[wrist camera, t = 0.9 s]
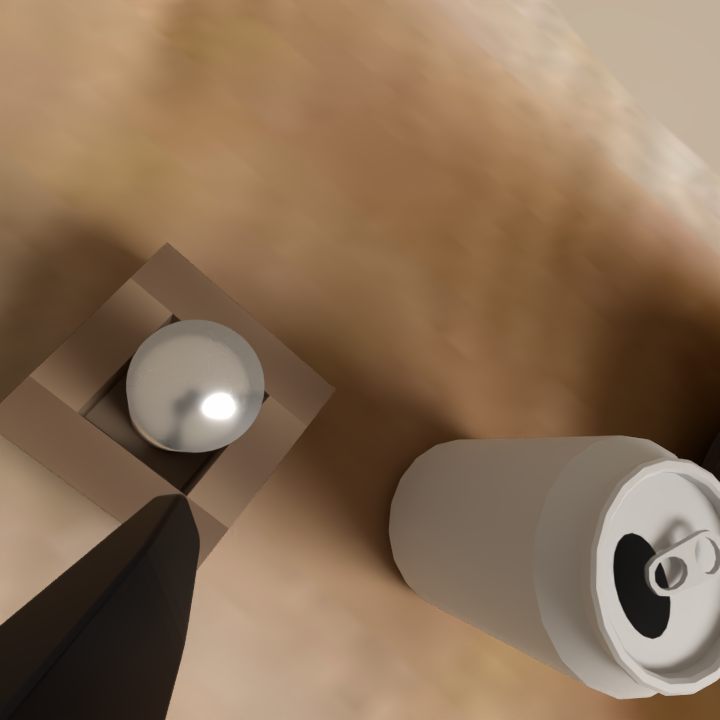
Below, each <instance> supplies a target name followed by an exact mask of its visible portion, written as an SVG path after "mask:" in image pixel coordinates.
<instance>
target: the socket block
mask: <svg viewBox="0 0 720 720" xmlns="http://www.w3.org/2000/svg"><path fill="white" fill-rule="evenodd" d="M184 320H206V321H212V322H215V323H219V324H221V325H224V326H226V327H228V328H230V329H232V330H233V331H235V332H236V333H238V334H239V335H240V336H242V337H243V338H244V339H245V340H246V341H247V342H248V343H249V345H250V346H251V347H252V348H253V350H254V352H255V353H256V355H257V357H258V359H259V361H260V364H261V367H262V370H263V375H264V387H265V388H264V397H263V401H262V405H261V408H260V411H259V413H258V415H257V417H256V419H255V420H254V422H253V423H252V425H251V426H250V427H249V428H248V429H247V431H246V432H245V433H244V434H242V435H241V436H240V437H239V438H238V439H236V440H235V441H233V442H232V443H230V444H228V445H226V446H224V447H222V448H219V449H215V450H212V451H207V452H196V453H194V452H180V451H168V450H161V449H158V448H155V447H153V446H151V445H149V444H147V443H146V442H144V441H143V440H142V439H141V438H140V437H139V436H138V434H137V433H136V431H135V430H134V428H133V426H132V424H131V420H130V414H129V407H128V400H127V392H126V380H127V373H128V369H129V366H130V363H131V361H132V359H133V357H134V355H135V353H136V351H137V350H138V348H139V347H140V346H141V345H142V343H143V342H144V341H145V340H146V339H147V338H148V337H150V336H151V335H152V334H153V333H155V332H156V331H158V330H159V329H161V328H163V327H165V326H167V325H170V324H173V323H175V322H180V321H184ZM335 390H336V389H335V388H334V387H333V386H332V385H330V384H329V383H328V382H327V381H326V380H325V379H324V378H322V377H321V376H320V375H319V374H318V373H317V372H316V371H314V370H313V369H312V368H311V367H310V366H309V365H307V364H306V363H305V362H304V361H303V360H302V359H301V358H299V357H298V356H297V355H296V354H295V353H294V352H293V351H291V350H290V349H289V348H288V347H287V346H286V345H285V344H283V343H282V342H281V341H280V340H279V339H278V338H276V337H275V336H274V335H273V334H272V333H271V332H270V331H268V330H267V329H266V328H265V327H264V326H263V325H262V324H260V323H259V322H258V321H257V320H256V319H255V318H254V317H252V316H251V315H250V314H249V313H248V312H247V311H245V310H244V309H243V308H242V307H241V306H240V305H239V304H237V303H236V302H235V301H234V300H233V299H232V298H231V297H229V296H228V295H227V294H226V293H225V292H224V291H223V290H221V289H220V288H219V287H218V286H217V285H216V284H214V283H213V282H212V281H211V280H210V279H209V278H208V277H206V276H205V275H204V274H203V273H202V272H201V271H200V270H198V269H197V268H196V267H195V266H194V265H193V264H192V263H190V262H189V261H188V260H187V259H186V258H185V257H184V256H182V255H181V254H180V253H179V252H178V251H177V250H175V249H174V248H173V247H172V246H171V245H170V244H169V243H166V244H165V245H164V246H163V247H162V248H161V249H160V250H159V251H158V252H157V253H156V254H155V255H154V256H153V257H151V258H150V259H149V260H148V261H147V262H146V263H145V264H144V265H143V266H142V267H141V268H140V269H139V270H138V271H137V272H136V273H135V274H134V275H133V276H132V277H131V278H130V279H129V280H128V281H127V282H126V283H125V284H123V285H122V286H121V287H120V288H119V289H118V290H117V291H116V292H115V293H114V294H113V295H112V296H111V297H110V298H109V299H108V300H107V301H106V302H105V303H104V304H103V305H102V306H101V307H100V308H99V309H98V310H97V311H95V312H94V313H93V314H92V315H91V316H90V317H89V318H88V319H87V320H86V321H85V322H84V323H83V324H82V325H81V326H80V327H79V328H78V329H77V330H76V331H75V332H74V333H73V334H72V335H71V336H70V337H69V338H67V339H66V340H65V341H64V342H63V343H62V344H61V345H60V346H59V347H58V348H57V349H56V350H55V351H54V352H53V353H52V354H51V355H50V356H49V357H48V358H47V359H46V360H45V361H44V362H43V363H42V364H41V365H39V366H38V367H37V368H36V369H35V370H34V371H33V372H32V373H31V374H30V375H29V376H28V377H27V378H26V379H25V380H24V381H23V382H22V383H21V384H20V385H19V386H18V387H17V388H16V389H15V390H14V391H13V392H12V393H10V394H9V395H8V396H7V397H6V398H5V399H4V400H3V401H2V402H1V403H0V434H1V435H2V436H4V437H5V438H7V439H8V440H9V441H11V442H12V443H13V444H15V445H16V446H17V447H19V448H20V449H22V450H23V451H24V452H26V453H27V454H28V455H30V456H31V457H32V458H34V459H35V460H37V461H38V462H39V463H41V464H42V465H43V466H45V467H46V468H47V469H49V470H50V471H52V472H53V473H54V474H56V475H57V476H58V477H60V478H61V479H62V480H64V481H65V482H67V483H68V484H69V485H71V486H72V487H73V488H75V489H76V490H77V491H79V492H80V493H81V494H83V495H84V496H86V497H87V498H88V499H90V500H91V501H92V502H94V503H95V504H96V505H98V506H99V507H101V508H102V509H103V510H105V511H106V512H107V513H109V514H110V515H111V516H113V517H114V518H116V519H117V520H118V521H120V522H121V523H122V524H123V523H124V522H125V521H127V520H128V519H129V518H130V517H131V516H133V515H134V514H135V513H136V512H137V511H139V510H140V509H141V508H142V507H143V506H145V505H146V504H147V503H148V502H149V501H151V500H152V499H153V498H154V497H156V496H159V495H167V494H176V493H181V494H183V495H185V497H186V498H187V500H188V503H189V506H190V509H191V511H192V514H193V517H194V520H195V523H196V526H197V529H198V532H199V537H200V551H199V558H198V564H197V569H198V568H199V567H200V565H201V564H202V563H203V562H204V560H205V559H206V558H207V556H208V555H209V554H210V552H211V551H212V550H213V549H214V547H215V546H216V545H217V543H218V542H219V541H220V540H221V538H222V537H223V536H224V534H225V533H226V532H227V530H228V529H229V528H230V527H231V525H232V524H233V523H234V521H235V520H236V519H237V517H238V516H239V515H240V514H241V512H242V511H243V510H244V508H245V507H246V506H247V505H248V503H249V502H250V501H251V499H252V498H253V497H254V495H255V494H256V493H257V492H258V490H259V489H260V488H261V486H262V485H263V484H264V482H265V481H266V480H267V479H268V477H269V476H270V475H271V473H272V472H273V471H274V470H275V468H276V467H277V466H278V464H279V463H280V462H281V460H282V459H283V458H284V457H285V455H286V454H287V453H288V451H289V450H290V449H291V447H292V446H293V445H294V444H295V442H296V441H297V440H298V438H299V437H300V436H301V435H302V433H303V432H304V431H305V429H306V428H307V427H308V425H309V424H310V423H311V422H312V420H313V419H314V418H315V416H316V415H317V414H318V412H319V411H320V410H321V409H322V407H323V406H324V405H325V403H326V402H327V401H328V399H329V398H330V397H331V396H332V394H333V393H334V392H335Z"/></svg>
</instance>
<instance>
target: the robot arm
mask: <svg viewBox="0 0 720 720" xmlns="http://www.w3.org/2000/svg"><path fill="white" fill-rule="evenodd" d="M199 551H200V537H199V532H198V529H197V526H196V523H195V520H194V517H193V514H192V511H191V509H190V506H189V503H188V500H187V498H186V497H185V495H183V494H181V493H176V494H167V495H159V496H156V497H154V498H153V499H152V500H151V501H149V502H148V503H147V504H146V505H145V506H143V507H142V508H141V509H140V510H139V511H137V512H136V513H135V514H134V515H133V516H131V517H130V518H129V519H128V520H127V521H125V522H124V523H123V524H122V525H121V526H119V527H118V528H117V529H116V530H115V531H113V532H112V533H111V534H110V535H109V536H107V537H106V538H105V539H104V540H103V541H101V542H100V543H99V544H98V545H97V546H95V547H94V548H93V549H92V550H91V551H89V552H88V553H87V554H86V555H85V556H83V557H82V558H81V559H80V560H78V561H77V562H76V563H75V564H74V565H72V566H71V567H70V568H69V569H68V570H66V571H65V572H64V573H63V574H62V575H60V576H59V577H58V578H57V579H56V580H54V581H53V582H52V583H51V584H50V585H48V586H47V587H46V588H45V589H44V590H42V591H41V592H40V593H39V594H38V595H36V596H35V597H34V598H33V599H32V600H30V601H29V602H28V603H27V604H26V605H24V606H23V607H22V608H21V609H20V610H18V611H17V612H16V613H15V614H14V615H12V616H11V617H10V618H9V619H8V620H6V621H5V622H4V623H3V624H2V625H0V720H165V719H166V715H167V711H168V707H169V704H170V700H171V696H172V692H173V689H174V685H175V681H176V677H177V674H178V670H179V666H180V662H181V658H182V654H183V650H184V646H185V641H186V635H187V629H188V623H189V617H190V610H191V603H192V597H193V590H194V584H195V577H196V571H197V564H198V558H199Z"/></svg>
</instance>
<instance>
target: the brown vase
mask: <svg viewBox="0 0 720 720" xmlns="http://www.w3.org/2000/svg"><path fill="white" fill-rule="evenodd" d="M702 468H703V469H705V470H707V471H708V472H710V473H712V474H713V475H714V477H715V478H716V479H717V480H718V481H719V482H720V432H719V433H718V435H717V437H716V438H715V439H714V441H713V443H712V444H711V446H710V449H709V451H708V452H707V454H706V457H705V459H704V462H703V464H702Z"/></svg>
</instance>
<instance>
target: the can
mask: <svg viewBox="0 0 720 720" xmlns="http://www.w3.org/2000/svg"><path fill="white" fill-rule="evenodd" d="M389 537H390V542H391V547H392V552H393V557H394V561H395V563H396V564H397V566H398V568H399V570H400V572H401V574H402V576H403V578H404V580H405V582H406V583H407V584H408V585H409V586H410V587H411V588H412V589H413V590H414V591H415V592H416V593H417V594H418V595H419V596H420V597H421V598H422V599H423V600H425V601H426V602H428V603H430V604H432V605H434V606H436V607H438V608H439V609H441V610H443V611H445V612H447V613H449V614H451V615H453V616H455V617H457V618H458V619H460V620H462V621H464V622H466V623H468V624H470V625H472V626H474V627H476V628H478V629H479V630H481V631H483V632H485V633H487V634H489V635H491V636H493V637H495V638H497V639H498V640H500V641H502V642H504V643H506V644H508V645H510V646H512V647H514V648H516V649H518V650H519V651H521V652H523V653H525V654H527V655H529V656H531V657H533V658H535V659H537V660H538V661H540V662H542V663H544V664H546V665H548V666H550V667H552V668H554V669H556V670H558V671H559V672H561V673H563V674H565V675H567V676H569V677H571V678H573V679H575V680H577V681H578V682H580V683H582V684H584V685H586V686H588V687H590V688H593V689H595V690H598V691H600V692H603V693H605V694H608V695H610V696H613V697H615V698H618V699H628V698H644V697H651V696H653V695H655V694H657V693H661V694H663V695H665V696H670V695H686V694H694V693H696V692H697V691H699V690H701V689H703V688H704V687H706V686H708V685H710V684H711V683H713V682H715V681H717V680H718V679H719V678H720V482H719V481H718V480H717V479H716V478H715V477H714V475H713V474H712V473H710V472H708V471H707V470H705V469H703V468H702V467H700V466H698V465H697V464H695V463H693V462H691V461H690V460H685V459H678V458H677V457H676V455H674V454H673V453H671V452H669V451H668V450H666V449H664V448H663V447H661V446H659V445H657V444H656V443H654V442H652V441H651V440H648V439H641V438H635V437H628V436H622V435H616V436H578V437H540V438H501V439H463V440H454V441H450V442H446V443H442V444H438V445H435V446H434V447H432V448H431V449H429V450H428V451H426V452H425V453H423V454H422V455H420V456H419V457H417V458H416V459H415V461H414V462H413V463H412V464H411V466H410V467H409V468H408V470H407V471H406V472H405V473H404V475H403V476H402V477H401V479H400V482H399V484H398V487H397V489H396V492H395V495H394V497H393V500H392V503H391V510H390V521H389Z"/></svg>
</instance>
